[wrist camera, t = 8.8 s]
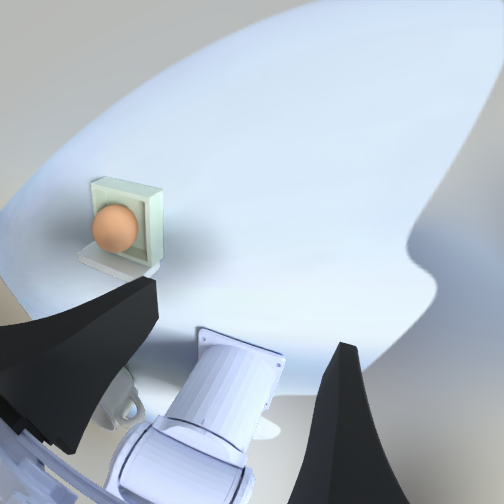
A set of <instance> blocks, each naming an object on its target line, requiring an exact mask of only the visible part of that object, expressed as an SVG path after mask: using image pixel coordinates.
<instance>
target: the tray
mask: <svg viewBox="0 0 504 504" xmlns="http://www.w3.org/2000/svg"><path fill="white" fill-rule="evenodd" d="M91 192H92V203H93V212H94V218H95V216H96V215H97V213H98V212H99V211H100V210H101V209H103V208H104V207H106V206H109V205H113V204H118V205H123V206H125V207H127V208H128V209H130V210H131V211H132V212H133V213H134V215H135V217H136V219H137V222H138V234H137V238H136V240H135V241H134V243H133V244H132V245H131V246H130V247H129V248H128V249H126V250H125V251H122V252H118V253H114V254H117V255H119V256H122V257H125V258H127V259H130V260H133V261H135V262H138V263H141V264H143V265H146V266H149V267H151V268H152V267H154V266H155V265H156V264H157V263H158V262H159V261H160V260H161V259H162V258H163V257H164V250H163V189H159V188H155V187H150V186H146V185H142V184H137V183H133V182H128V181H124V180H119V179H115V178H110V177H106V176H105V177H103V178H101V179H99V180H97V181H94V182H92V183H91ZM98 247H99V246H98ZM99 248H100V247H99ZM101 249H102V248H101Z"/></svg>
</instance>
